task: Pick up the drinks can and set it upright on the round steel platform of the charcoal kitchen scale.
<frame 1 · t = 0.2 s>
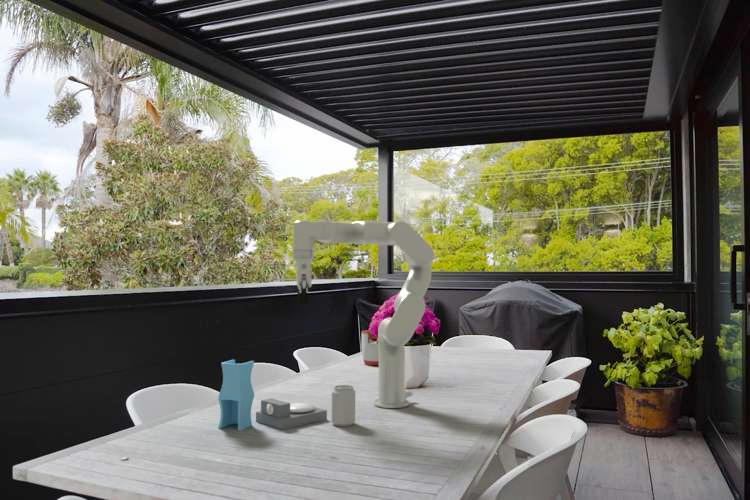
hand: (302, 303, 215), 37 cm above the table, tool pointing down, fingers open, 9 cm apart
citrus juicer: (375, 364, 313), on the table
can: (343, 424, 193), on the table
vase: (236, 427, 189), on the table
scale: (291, 420, 197), on the table
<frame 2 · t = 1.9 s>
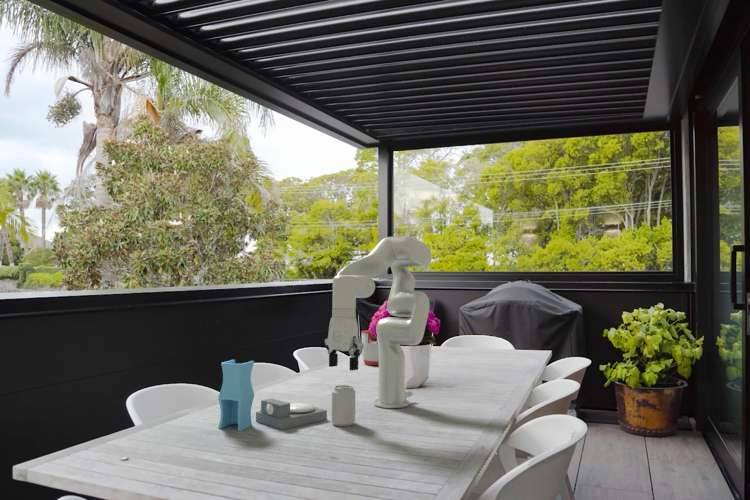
hand: (343, 368, 193), 18 cm above the table, tool pointing down, fingers open, 9 cm apart
nothing on the table moved.
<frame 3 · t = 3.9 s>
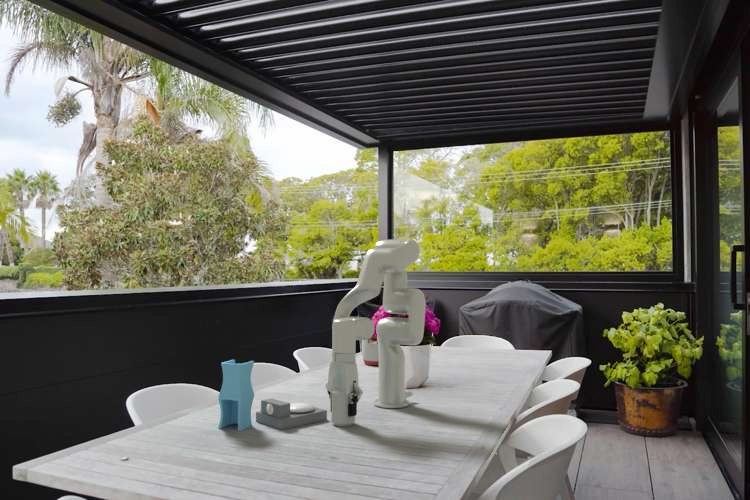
hand: (343, 413, 193), 3 cm above the table, tool pointing down, fingers closed on can, 7 cm apart
can: (343, 424, 193), on the table, touching gripper
everything else where it was.
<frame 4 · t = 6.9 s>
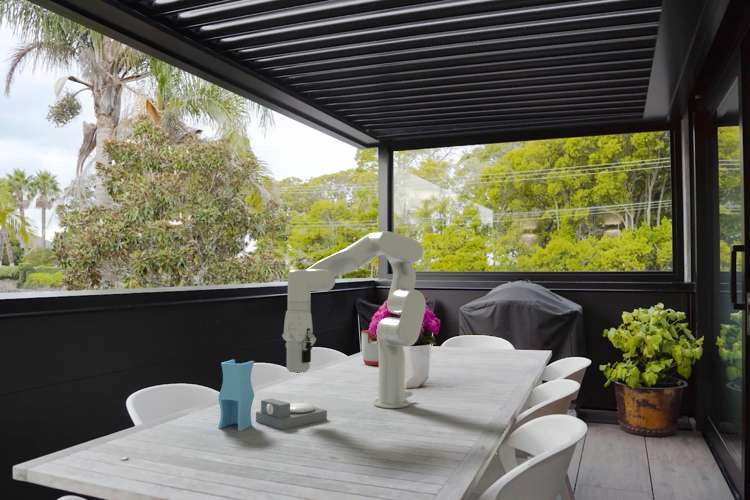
hand: (298, 360, 199), 19 cm above the table, tool pointing down, fingers closed on can, 7 cm apart
can: (298, 371, 199), point 15 cm above the table, touching gripper
everything else where it was.
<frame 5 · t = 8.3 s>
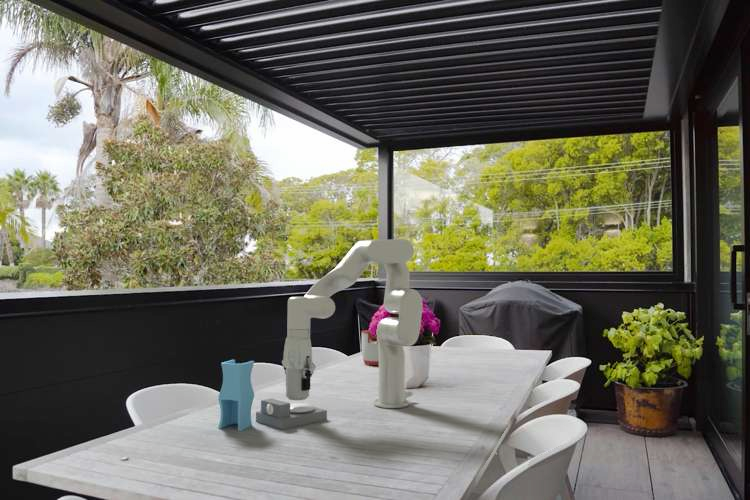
hand: (297, 387, 199), 10 cm above the table, tool pointing down, fingers closed on can, 7 cm apart
can: (297, 399, 199), point 7 cm above the table, touching gripper
everything else where it was.
when the fingers open (8 cm above the table, at t = 9.7 s): can stays where it is, resting on scale.
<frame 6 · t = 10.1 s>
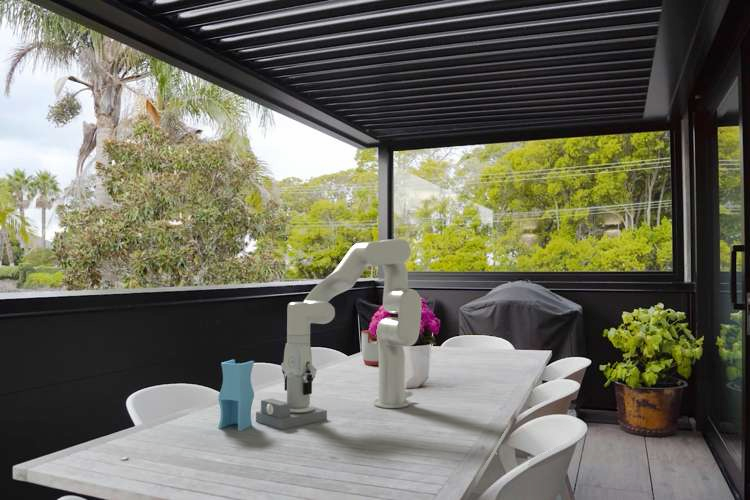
hand: (298, 392, 199), 9 cm above the table, tool pointing down, fingers open, 9 cm apart
can: (298, 407, 199), point 4 cm above the table, touching scale
everything else where it was.
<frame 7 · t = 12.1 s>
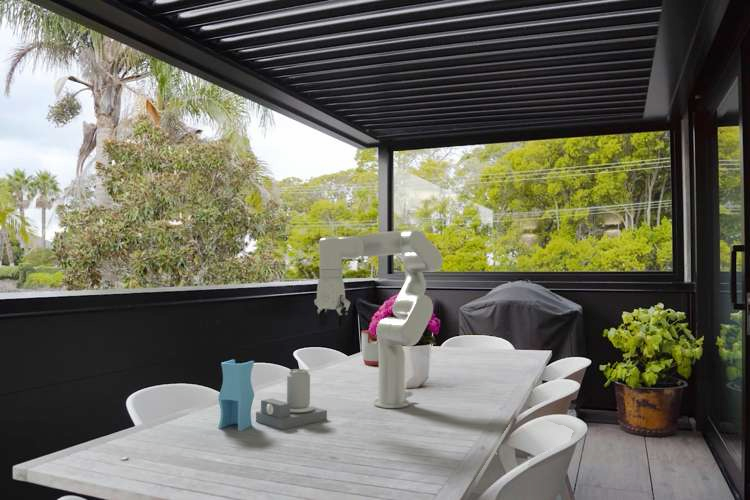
hand: (332, 325, 202), 30 cm above the table, tool pointing down, fingers open, 9 cm apart
nothing on the table moved.
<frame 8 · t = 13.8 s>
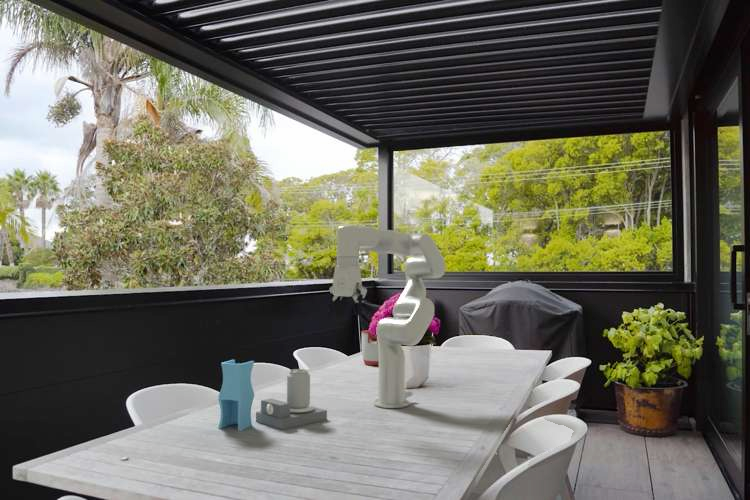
hand: (347, 313, 203), 34 cm above the table, tool pointing down, fingers open, 9 cm apart
nothing on the table moved.
at the end: can inside the target area on the scale (0.1 cm from its centre), point 3.8 cm above the scale's base; can tilted 0°; the gripper is holding nothing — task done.
